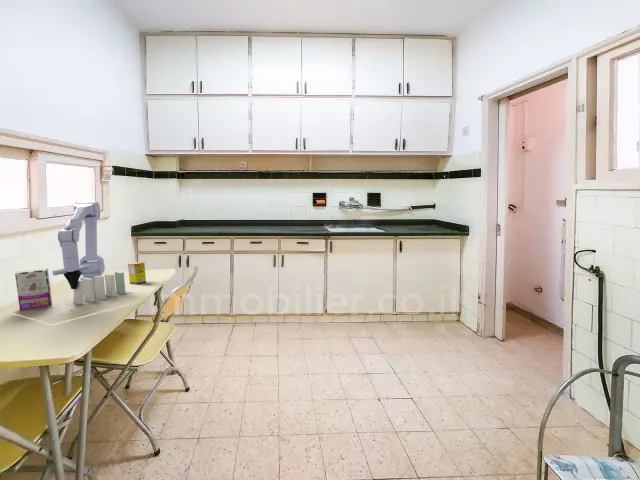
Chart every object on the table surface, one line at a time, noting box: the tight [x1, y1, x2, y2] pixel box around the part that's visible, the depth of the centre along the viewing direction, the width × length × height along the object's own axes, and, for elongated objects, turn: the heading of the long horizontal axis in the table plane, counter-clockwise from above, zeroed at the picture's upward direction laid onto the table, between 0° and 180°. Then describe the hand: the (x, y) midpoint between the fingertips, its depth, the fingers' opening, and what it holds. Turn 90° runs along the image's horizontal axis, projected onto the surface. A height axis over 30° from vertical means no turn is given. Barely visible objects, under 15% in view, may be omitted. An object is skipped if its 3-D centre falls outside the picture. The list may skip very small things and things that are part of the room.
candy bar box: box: [14, 268, 53, 312], centre depth 176 cm, size 11×5×16 cm, turn 117°
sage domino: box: [114, 271, 126, 294], centre depth 197 cm, size 2×5×10 cm, turn 55°
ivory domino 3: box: [94, 275, 106, 299], centre depth 188 cm, size 2×5×10 cm, turn 58°
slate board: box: [66, 291, 133, 308], centre depth 189 cm, size 26×10×1 cm, turn 148°
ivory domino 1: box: [72, 279, 85, 304], centre depth 180 cm, size 2×5×10 cm, turn 58°
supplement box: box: [127, 261, 147, 285], centre depth 221 cm, size 6×6×11 cm
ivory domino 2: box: [83, 278, 95, 302], centre depth 184 cm, size 2×5×10 cm, turn 58°
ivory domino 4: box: [104, 273, 116, 297], centre depth 192 cm, size 2×5×10 cm, turn 58°
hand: (73, 288), depth 179 cm, fingers closed
